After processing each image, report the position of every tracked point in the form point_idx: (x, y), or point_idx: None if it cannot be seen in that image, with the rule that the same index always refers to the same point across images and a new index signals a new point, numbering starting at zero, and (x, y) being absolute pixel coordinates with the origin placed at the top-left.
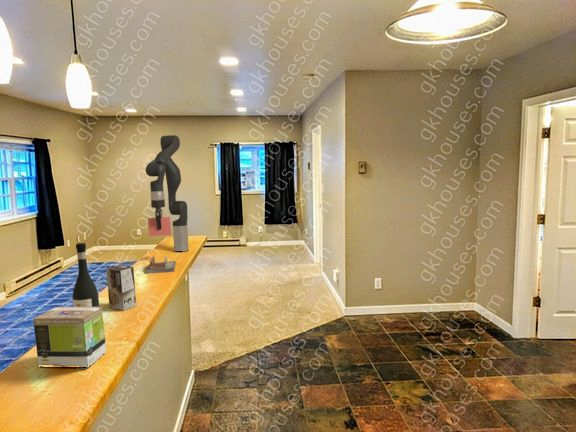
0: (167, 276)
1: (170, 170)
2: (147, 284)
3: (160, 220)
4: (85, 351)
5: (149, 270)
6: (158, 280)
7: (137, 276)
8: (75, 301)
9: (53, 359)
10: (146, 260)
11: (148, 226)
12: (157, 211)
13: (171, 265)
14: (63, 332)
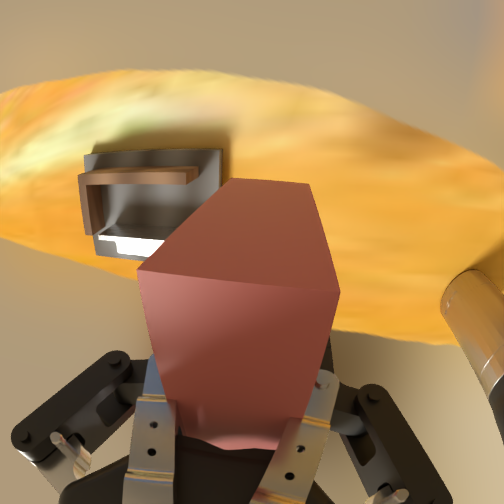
0: (57, 229)
1: None
2: (10, 182)
3: (113, 399)
4: None
5: (86, 167)
6: (30, 206)
7: (68, 129)
8: None
9: None
10: (360, 128)
11: (198, 209)
12: (56, 489)
13: (129, 250)
14: None
